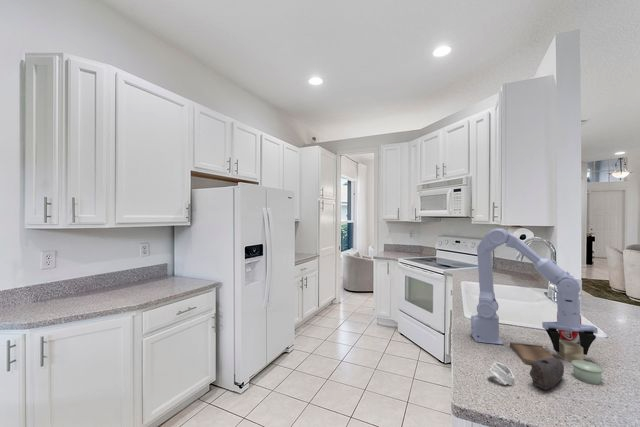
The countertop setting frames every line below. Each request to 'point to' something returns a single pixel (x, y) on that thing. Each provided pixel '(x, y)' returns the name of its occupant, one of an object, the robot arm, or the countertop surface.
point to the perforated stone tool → (546, 372)
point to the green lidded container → (587, 371)
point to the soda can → (569, 334)
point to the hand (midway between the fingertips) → (570, 352)
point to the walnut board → (530, 352)
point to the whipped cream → (501, 373)
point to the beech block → (570, 351)
